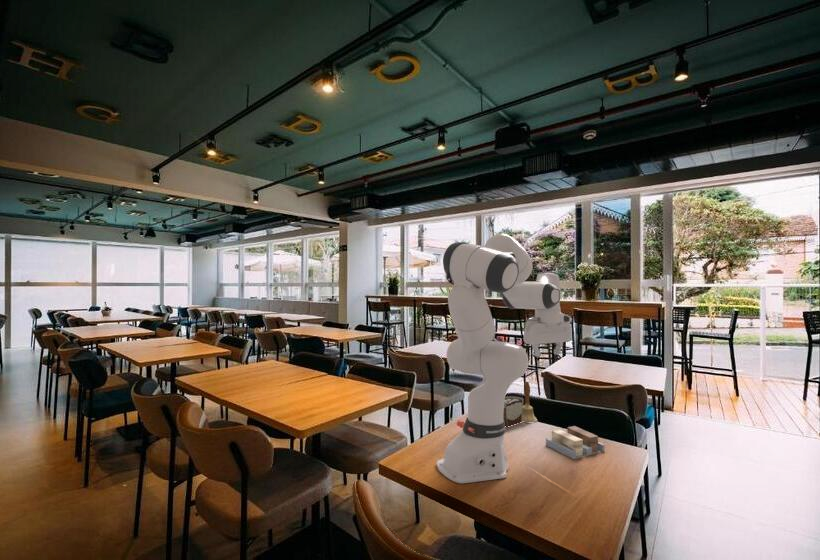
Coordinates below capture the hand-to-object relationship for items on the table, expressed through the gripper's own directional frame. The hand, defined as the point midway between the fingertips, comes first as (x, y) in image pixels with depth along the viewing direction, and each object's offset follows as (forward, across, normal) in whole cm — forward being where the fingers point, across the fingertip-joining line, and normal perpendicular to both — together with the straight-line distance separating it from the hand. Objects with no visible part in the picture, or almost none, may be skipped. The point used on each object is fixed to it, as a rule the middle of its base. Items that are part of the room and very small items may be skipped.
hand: (547, 355), depth 141 cm
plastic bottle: (+31, -10, +22) cm, 40 cm away
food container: (+31, -1, +20) cm, 37 cm away
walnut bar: (+30, +6, -10) cm, 33 cm away
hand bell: (+31, +9, +20) cm, 38 cm away
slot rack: (+31, +3, -10) cm, 33 cm away
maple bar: (+30, -1, -10) cm, 32 cm away
